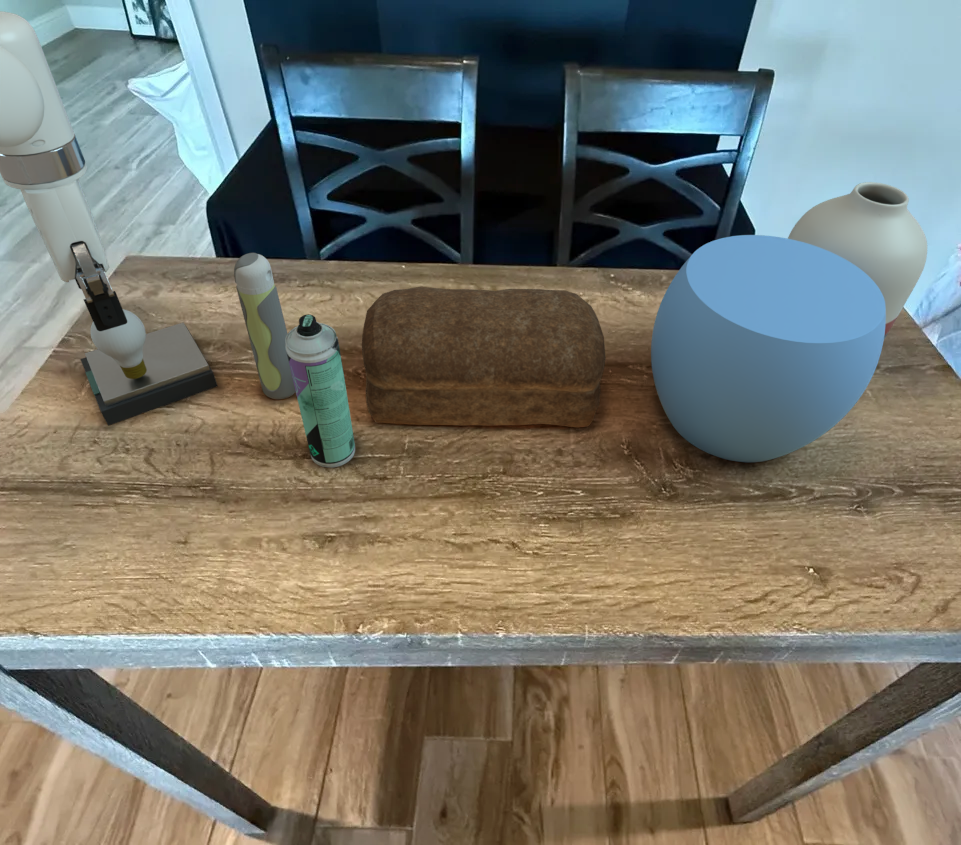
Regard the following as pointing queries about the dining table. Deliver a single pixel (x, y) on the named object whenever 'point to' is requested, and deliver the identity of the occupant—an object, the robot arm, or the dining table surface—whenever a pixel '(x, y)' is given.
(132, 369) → the light bulb
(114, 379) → the scale
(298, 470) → the dining table surface
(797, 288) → the blue rounded pouf
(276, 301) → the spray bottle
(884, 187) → the vase
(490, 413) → the bread
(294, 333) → the spray can
